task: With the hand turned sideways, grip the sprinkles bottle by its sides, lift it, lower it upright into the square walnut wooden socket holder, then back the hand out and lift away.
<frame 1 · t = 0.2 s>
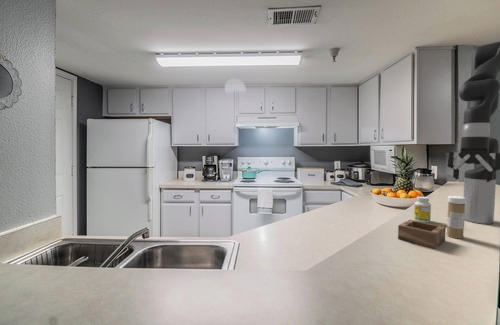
hand: (471, 180, 89), 18 cm above the countertop, tool pointing down, fingers open, 8 cm apart
socket holder: (421, 239, 79), on the countertop
sprinkles bottle: (454, 237, 81), on the countertop
supplement bottle: (422, 221, 99), on the countertop
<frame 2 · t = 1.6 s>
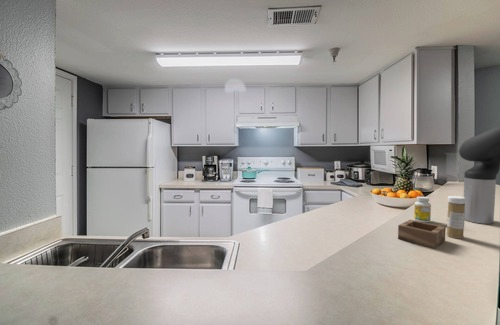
nothing on the countertop moved.
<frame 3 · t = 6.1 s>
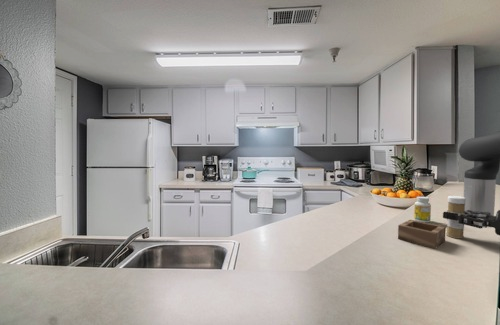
hand: (445, 213, 83), 7 cm above the countertop, tool horizontal, fingers closed on sprinkles bottle, 4 cm apart
sprinkles bottle: (454, 237, 81), on the countertop, touching gripper
everything else where it was.
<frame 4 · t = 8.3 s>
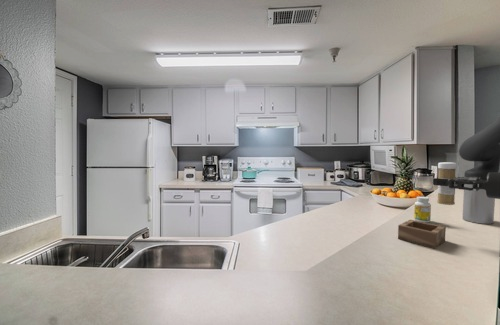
hand: (436, 180, 81), 19 cm above the countertop, tool horizontal, fingers closed on sprinkles bottle, 4 cm apart
sprinkles bottle: (445, 204, 79), point 11 cm above the countertop, touching gripper
everything else where it was.
when the fingers open (10 cm above the countertop, at t = 10.9 s): sprinkles bottle drops 1 cm, resting on socket holder.
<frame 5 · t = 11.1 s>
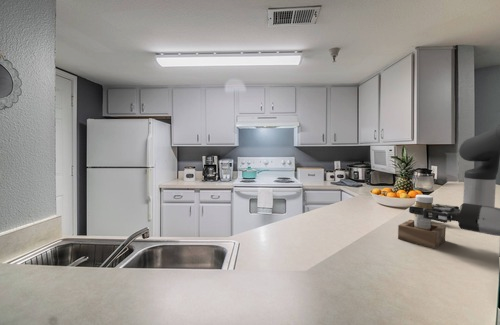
hand: (413, 207, 80), 10 cm above the countertop, tool horizontal, fingers open, 6 cm apart
sprinkles bottle: (421, 237, 79), point 1 cm above the countertop, touching socket holder
everything else where it was.
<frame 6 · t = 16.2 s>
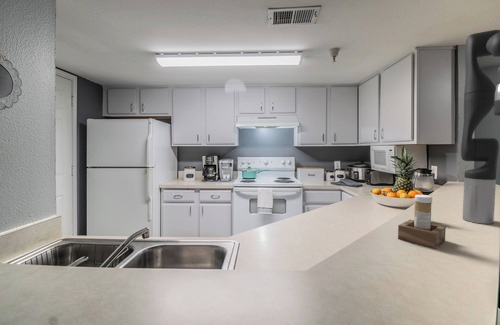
nothing on the countertop moved.
at the end: sprinkles bottle 0.1 cm off-centre on the socket holder, point 0.8 cm above the socket holder's base; sprinkles bottle tilted 0°; the gripper is holding nothing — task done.
